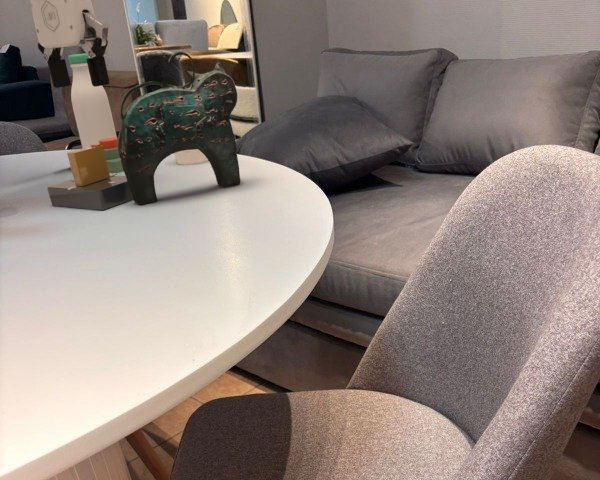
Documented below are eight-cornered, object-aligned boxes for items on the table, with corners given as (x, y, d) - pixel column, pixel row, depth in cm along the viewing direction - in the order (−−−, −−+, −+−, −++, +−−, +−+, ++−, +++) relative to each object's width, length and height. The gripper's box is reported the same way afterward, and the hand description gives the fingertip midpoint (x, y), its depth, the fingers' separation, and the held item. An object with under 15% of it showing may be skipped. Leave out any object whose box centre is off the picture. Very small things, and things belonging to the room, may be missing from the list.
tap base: (49, 206, 104) (43, 186, 102) (96, 191, 111) (91, 172, 109) (100, 211, 98) (94, 190, 96) (146, 194, 105) (142, 175, 103)
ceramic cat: (239, 178, 110) (222, 46, 99) (255, 184, 105) (238, 45, 94) (126, 201, 102) (95, 60, 92) (138, 209, 97) (106, 61, 87)
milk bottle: (125, 154, 141) (103, 51, 130) (91, 161, 137) (66, 56, 127) (113, 150, 146) (91, 52, 136) (80, 157, 143) (55, 56, 133)
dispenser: (82, 171, 128) (76, 150, 125) (111, 162, 133) (106, 142, 131) (117, 173, 123) (112, 151, 121) (146, 164, 128) (142, 143, 126)
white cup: (169, 161, 129) (159, 107, 124) (206, 155, 131) (198, 102, 126) (178, 167, 122) (168, 111, 117) (217, 161, 125) (209, 105, 120)
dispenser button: (96, 150, 126) (94, 141, 125) (110, 147, 128) (108, 137, 127) (109, 151, 124) (107, 141, 123) (122, 147, 126) (120, 137, 126)
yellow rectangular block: (82, 186, 100) (73, 151, 98) (75, 185, 101) (66, 151, 98) (110, 177, 105) (102, 143, 102) (103, 177, 105) (95, 143, 103)
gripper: (-3, -32, 99) (30, 90, 108) (69, -46, 90) (99, 88, 99) (37, -32, 104) (66, 84, 113) (109, -46, 95) (134, 82, 104)
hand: (81, 86), depth 106 cm, fingers open, 9 cm apart
